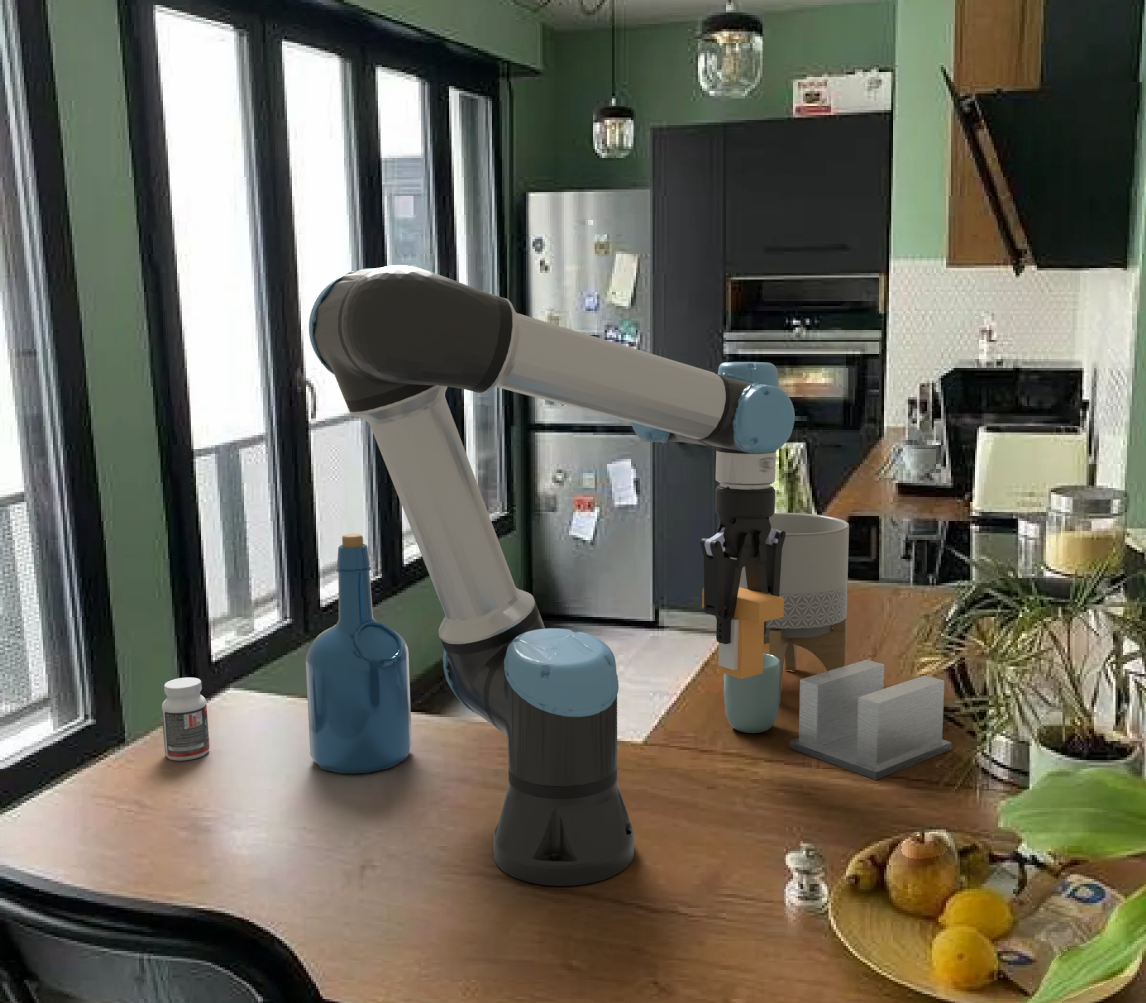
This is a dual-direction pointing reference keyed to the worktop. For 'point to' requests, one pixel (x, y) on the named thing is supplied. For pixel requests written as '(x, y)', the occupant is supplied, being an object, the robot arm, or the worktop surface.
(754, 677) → the cup
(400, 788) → the worktop surface
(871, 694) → the bracket
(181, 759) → the pill bottle
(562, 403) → the robot arm
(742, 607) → the orange t-shaped block
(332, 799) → the worktop surface
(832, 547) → the planter
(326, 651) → the wine bottle
